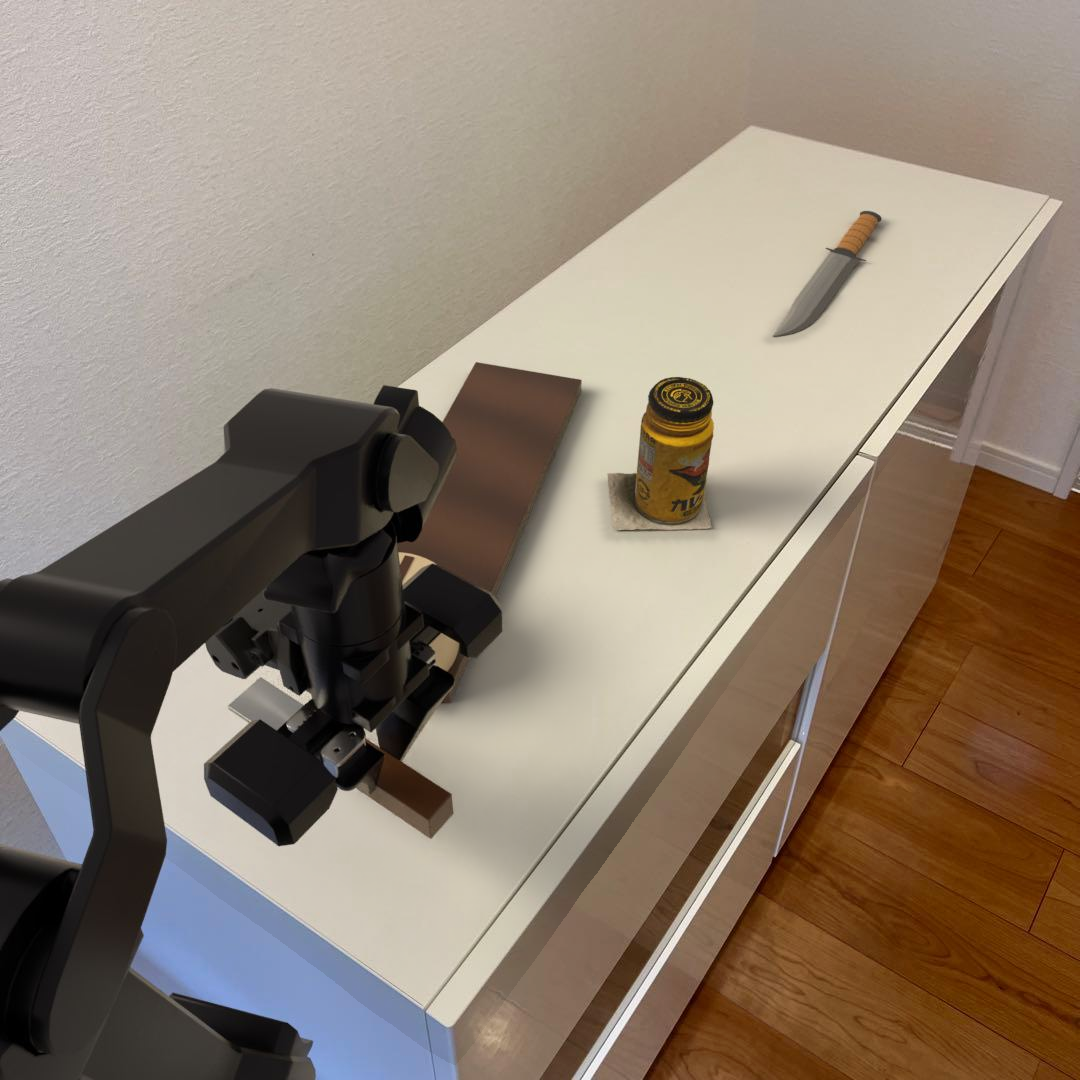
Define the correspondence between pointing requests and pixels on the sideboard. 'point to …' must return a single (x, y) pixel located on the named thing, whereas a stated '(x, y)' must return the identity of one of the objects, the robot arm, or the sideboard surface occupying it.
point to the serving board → (493, 473)
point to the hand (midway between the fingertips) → (378, 775)
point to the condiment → (668, 461)
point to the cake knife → (397, 780)
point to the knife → (828, 276)
